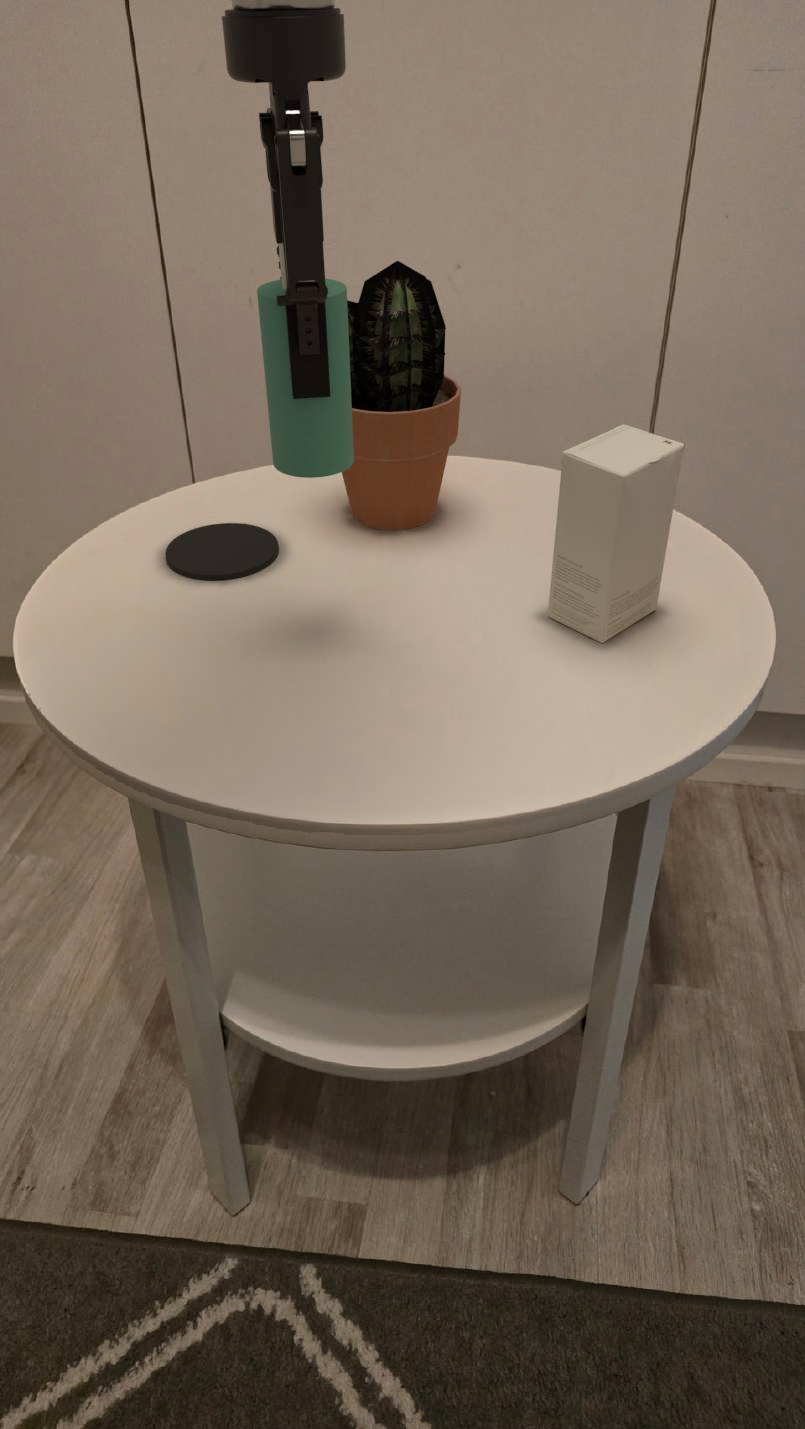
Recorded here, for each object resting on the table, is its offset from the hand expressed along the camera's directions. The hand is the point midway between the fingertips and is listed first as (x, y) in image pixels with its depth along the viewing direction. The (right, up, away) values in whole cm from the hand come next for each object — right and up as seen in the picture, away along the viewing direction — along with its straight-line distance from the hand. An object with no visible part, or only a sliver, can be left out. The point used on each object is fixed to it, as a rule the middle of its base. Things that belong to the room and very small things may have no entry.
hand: (307, 380), depth 74 cm
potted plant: (+6, -4, +30) cm, 31 cm away
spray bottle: (0, -5, +4) cm, 6 cm away
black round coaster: (-11, -9, +23) cm, 27 cm away
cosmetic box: (+25, -17, +13) cm, 33 cm away
